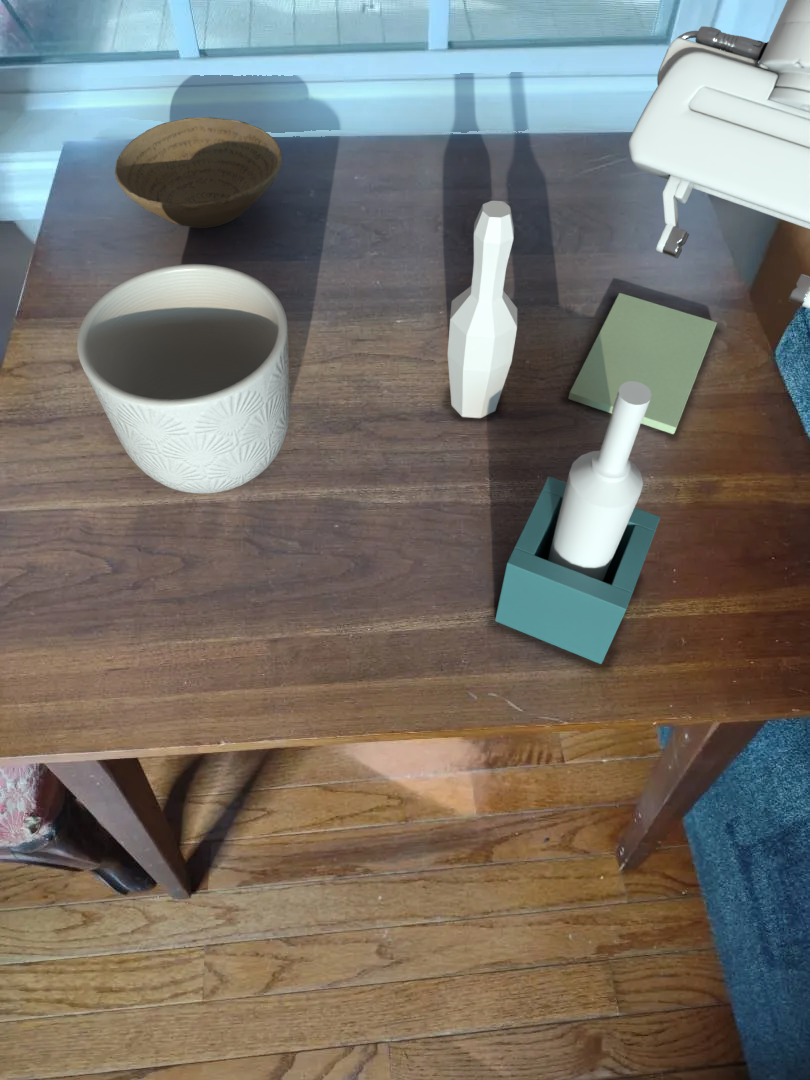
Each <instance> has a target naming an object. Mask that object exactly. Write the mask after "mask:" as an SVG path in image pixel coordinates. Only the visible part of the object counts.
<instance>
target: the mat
mask: <svg viewBox="0 0 810 1080" xmlns="http://www.w3.org/2000/svg"><path fill="white" fill-rule="evenodd" d="M717 325H718V322H717V321H714V320H711V319H707V318H704V317H700V316H697V315H695V314H691V313H688V312H685V311H681V310H678V309H675V308H671V307H668V306H664V305H661V304H658V303H654V302H652V301H648V300H645V299H642V298H638V297H635V296H632V295H628V294H625V293H622V292H619V293H618V294H617V297H616V298H615V300H614V302H613V304H612V306H611V308H610V309H609V313H608V314H607V316H606V318H605V321H604V322H603V324H602V327H601V329H600V330H599V332H598V335H597V337H596V339H595V340H594V342H593V344H592V347H591V348H590V350H589V353H588V354H587V357H586V359H585V360H584V363H583V364H582V367H581V369H580V371H579V373H578V375H577V377H576V378H575V381H574V383H573V385H572V387H571V389H570V391H569V393H568V398H567V399H568V400H570V401H573V402H577V403H579V404H582V405H585V406H588V407H591V408H594V409H597V410H600V411H602V412H606V413H609V414H612V410H613V406H614V403H615V400H616V397H617V394H618V390H619V388H620V386H621V385H622V384H623V383H625V382H629V381H636V382H640V383H642V384H644V385H646V386H647V387H648V388H649V389H650V391H651V395H652V396H651V399H650V402H649V404H648V407H647V410H646V413H645V416H644V418H643V421H641V424H640V425H644V426H646V427H651V428H653V429H656V430H659V431H661V432H664V433H668V434H671V435H674V434H675V433H676V430H677V428H678V425H679V422H680V420H681V418H682V416H683V413H684V410H685V407H686V405H687V403H688V402H687V401H688V399H689V397H690V394H691V391H692V390H693V386H694V384H695V381H696V378H697V376H698V373H699V371H700V368H701V366H702V363H703V361H704V357H705V355H706V352H707V351H708V347H709V346H710V345H709V344H710V343H711V340H712V337H713V334H714V332H715V329H716V326H717Z"/></svg>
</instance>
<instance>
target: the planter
mask: <svg viewBox="0 0 810 1080" xmlns="http://www.w3.org/2000/svg"><path fill="white" fill-rule="evenodd" d="M288 327H289V326H288V317H287V315H286V311H285V308H284V306H283V305H282V302H281V301H280V299H279V298H278V296H277V295H276V294H275V293H274V292H273V291H272V290H271V289H270V288H269V287H268V286H267V285H266V284H264V283H263V282H261V281H260V280H259V279H257V278H255V277H254V276H252V275H249V274H247V273H245V272H242V271H240V270H236V269H234V268H231V267H230V268H229V267H226V266H221V265H215V264H205V263H188V264H187V263H185V264H174V265H168V266H163V267H158V268H155V269H151V270H148V271H144V272H142V273H140V274H137V275H134V276H132V277H130V278H128V279H125V280H124V281H122V282H120V283H118V284H116V285H115V286H114V287H112V288H110V289H109V290H107V292H106V293H104V294H102V296H101V297H100V298H99V299H98V300H97V301H95V303H94V304H93V305H92V306H91V307H90V309H89V310H88V311H87V313H86V315H85V316H84V318H83V319H82V322H81V324H80V327H79V329H78V334H77V340H76V348H77V349H76V350H77V356H78V359H79V363H80V365H81V367H82V368H83V371H84V373H85V375H86V378H87V379H88V381H89V384H90V385H91V387H92V389H93V391H94V393H95V396H96V397H97V399H98V401H99V403H100V405H101V407H102V409H103V410H104V413H105V414H106V417H107V419H108V420H109V422H110V424H111V426H112V428H113V430H114V433H115V434H116V436H117V438H118V440H119V442H120V444H121V446H122V447H123V449H124V451H125V453H127V455H128V457H129V458H130V459H131V460H132V461H133V462H134V464H135V465H136V467H138V468H139V469H140V470H141V471H142V472H144V473H145V474H146V475H147V476H148V477H149V478H151V479H152V480H154V481H156V482H157V483H159V484H161V485H163V486H165V487H166V488H170V489H172V490H176V491H179V492H183V493H190V494H214V493H222V492H226V491H230V490H233V489H236V488H238V487H241V486H243V485H245V484H247V483H248V482H250V481H251V480H253V479H255V478H256V477H258V476H259V475H261V474H262V473H263V472H264V471H265V470H266V469H267V468H268V467H269V466H270V465H271V464H272V462H274V460H275V458H276V457H277V455H278V454H279V452H280V450H281V448H282V447H283V444H284V441H285V440H286V436H287V433H288V429H289V425H290V424H289V422H290V418H291V417H290V416H291V393H290V392H291V391H290V390H291V389H290V387H291V386H290V360H289V359H290V358H289V357H290V356H289V355H290V354H289V328H288Z"/></svg>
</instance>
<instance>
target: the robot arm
mask: <svg viewBox="0 0 810 1080" xmlns="http://www.w3.org/2000/svg"><path fill="white" fill-rule="evenodd" d="M690 39H695V41H692V40H690ZM656 82H657V86H656V88H655V89H654V91H653V93H652V94H651V96H650V98H649V99H648V101H647V103H646V105H645V107H644V109H643V111H642V113H641V114H640V116H639V118H638V120H637V122H636V124H635V127H634V128H633V131H632V132H631V135H630V137H629V140H628V142H627V149H628V152H629V153H628V154H629V157H630V159H631V162H632V163H633V165H634V166H635V167H636V168H637V169H639V170H640V171H643V172H645V173H648V174H651V175H653V176H657V177H659V178H661V179H665V180H667V182H666V184H665V186H664V189H663V191H662V201H663V202H662V205H663V216H664V224H665V226H664V229H663V230H662V233H661V235H660V237H659V240H658V242H657V244H656V247H655V251H657V252H658V253H660V254H663V255H665V256H669V257H671V258H674V259H679V257H680V255H681V253H682V251H683V249H682V246H684V245H686V243H687V240H688V239H689V236H690V234H689V233H688V231H687V230H684V229H682V228H679V227H680V225H679V210H678V208H679V207H678V203H681V204H683V205H684V204H686V203H687V202H688V199H689V197H690V195H691V194H692V191H693V190H697V191H699V192H702V193H704V194H707V195H710V196H714V197H716V198H718V199H722V200H725V201H728V202H731V203H734V204H736V205H739V206H742V207H745V208H747V209H750V210H753V211H756V212H759V213H762V214H764V215H767V216H771V217H774V218H776V219H779V220H782V221H785V222H786V223H790V224H792V225H796V226H799V227H802V228H805V229H808V230H810V0H786V2H785V5H784V7H783V9H782V11H781V12H780V15H779V18H778V19H777V22H776V24H775V26H774V28H773V31H772V32H771V35H770V37H769V40H768V41H767V42H764V41H761V40H758V39H754V38H750V37H747V36H744V35H743V36H742V35H735V34H730V33H727V32H723V31H722V30H720V29H718V28H716V27H712V26H700V28H699V29H698V30H690V31H686V32H684V33H682V34H680V35H679V36H677V37H676V38H675V39H674V40H672V42H671V43H670V45H669V46H668V48H667V49H666V52H665V55H664V57H663V59H662V61H661V63H660V67H659V69H658V72H657V77H656ZM788 302H790V303H793V304H795V305H798V306H799V307H802V308H806V309H808V310H810V275H807V274H804V273H801V274H800V276H799V277H798V280H797V281H796V287H795V288H794V289H792V291H791V293H790V294H789V297H788Z"/></svg>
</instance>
